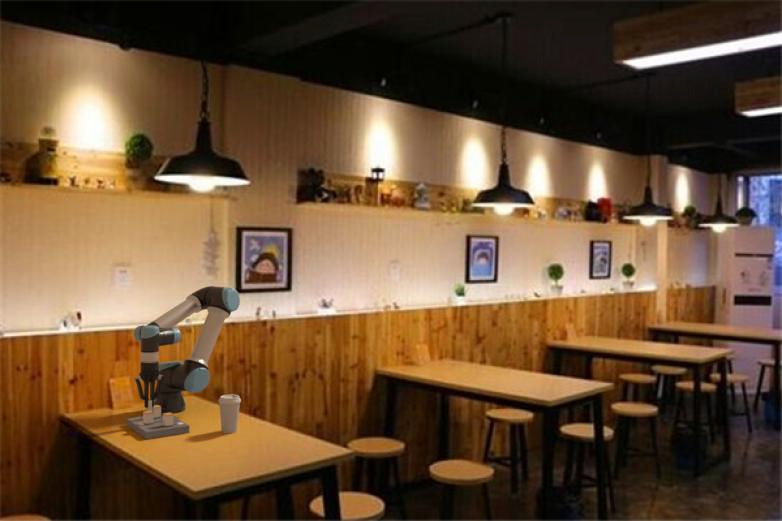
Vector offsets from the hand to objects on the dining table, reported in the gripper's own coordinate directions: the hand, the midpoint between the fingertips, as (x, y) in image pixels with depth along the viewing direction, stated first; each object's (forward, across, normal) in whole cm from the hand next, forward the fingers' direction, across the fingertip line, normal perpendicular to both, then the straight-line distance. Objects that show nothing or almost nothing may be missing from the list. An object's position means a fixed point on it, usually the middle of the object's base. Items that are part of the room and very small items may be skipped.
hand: (149, 414), depth 303 cm
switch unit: (+5, -1, +8) cm, 9 cm away
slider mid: (+1, +3, +8) cm, 9 cm away
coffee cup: (+5, -25, +28) cm, 38 cm away
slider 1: (+1, -3, 0) cm, 3 cm away
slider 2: (+1, -3, +16) cm, 16 cm away
